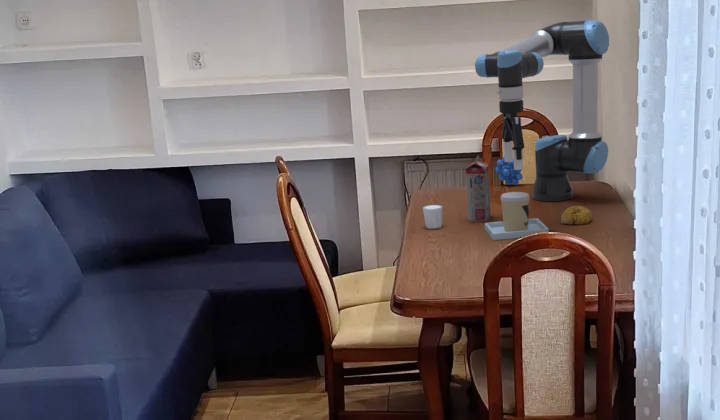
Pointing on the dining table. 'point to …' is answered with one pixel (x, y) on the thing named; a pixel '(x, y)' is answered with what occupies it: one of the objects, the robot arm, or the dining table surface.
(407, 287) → the dining table surface
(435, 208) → the white tapered cylinder
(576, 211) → the bagel
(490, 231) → the tray
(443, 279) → the dining table surface
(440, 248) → the dining table surface
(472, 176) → the juice carton
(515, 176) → the grapes
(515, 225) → the coffee cup
